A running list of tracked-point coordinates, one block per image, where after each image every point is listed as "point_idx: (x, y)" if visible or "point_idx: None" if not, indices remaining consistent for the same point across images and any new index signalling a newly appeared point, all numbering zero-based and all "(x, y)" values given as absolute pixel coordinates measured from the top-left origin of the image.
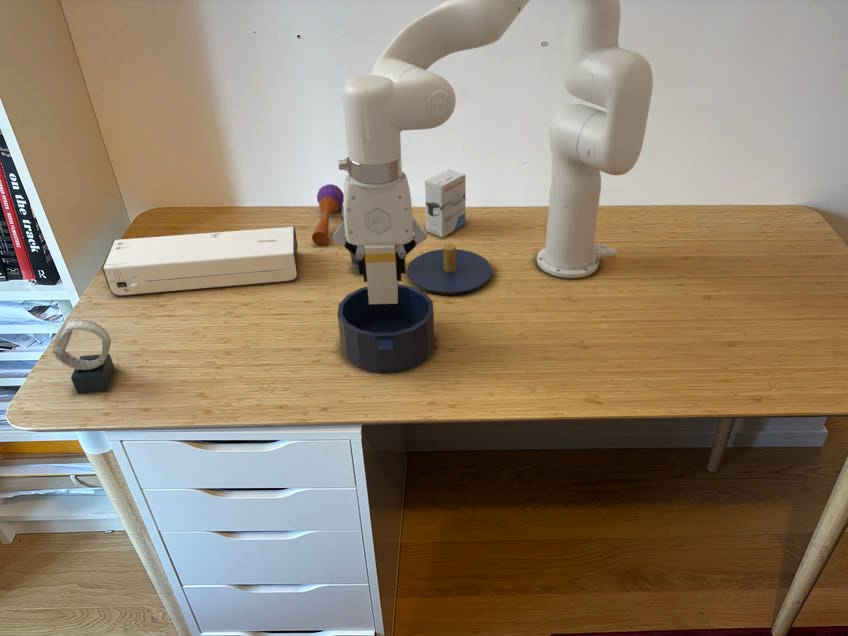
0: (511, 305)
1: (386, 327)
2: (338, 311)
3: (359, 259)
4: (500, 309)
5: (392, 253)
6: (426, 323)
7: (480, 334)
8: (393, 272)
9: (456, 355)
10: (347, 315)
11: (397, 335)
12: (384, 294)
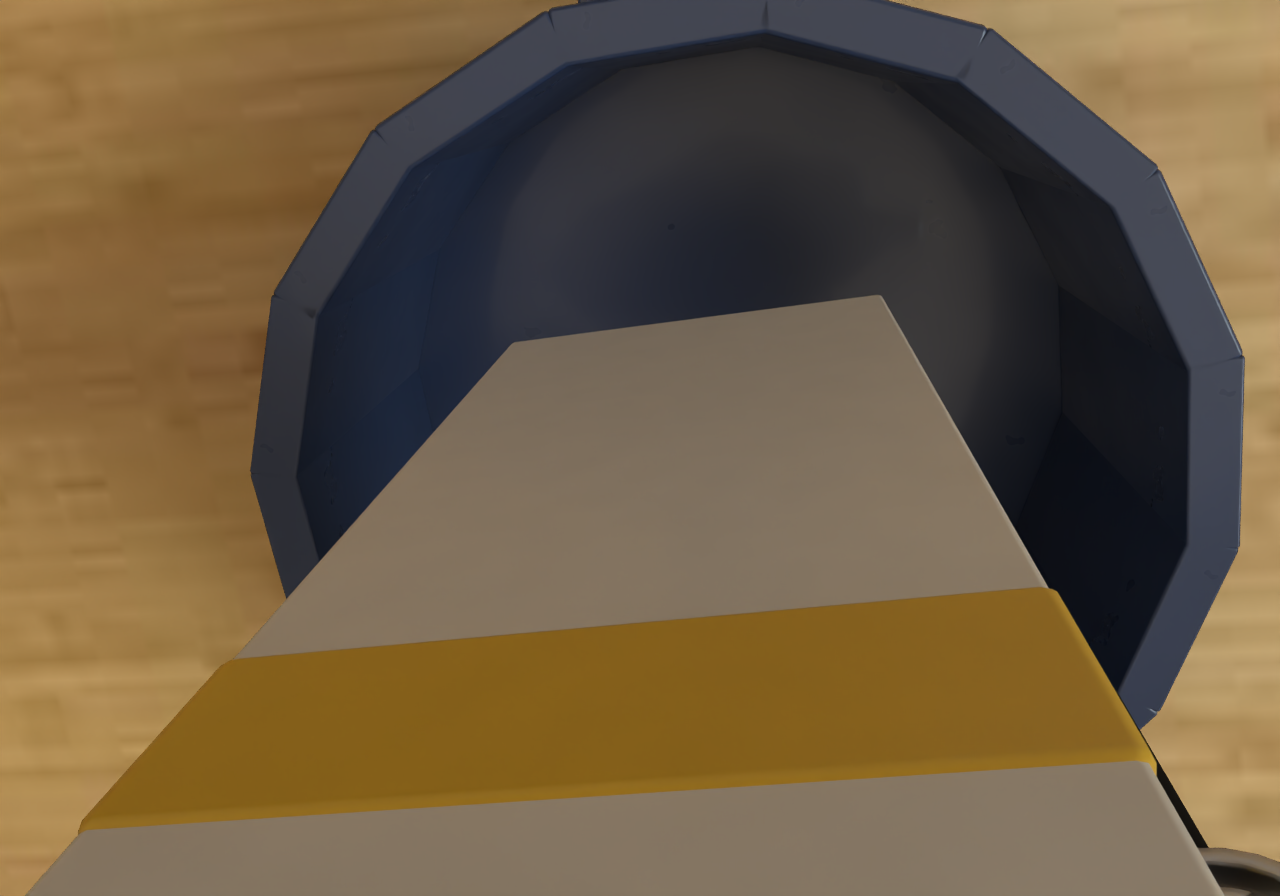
0: (2, 843)
1: None
2: (1237, 421)
3: (1211, 853)
4: (58, 803)
5: (153, 827)
6: (279, 286)
7: (116, 539)
8: (396, 524)
9: (220, 289)
10: (1108, 526)
11: (525, 26)
12: (657, 356)
